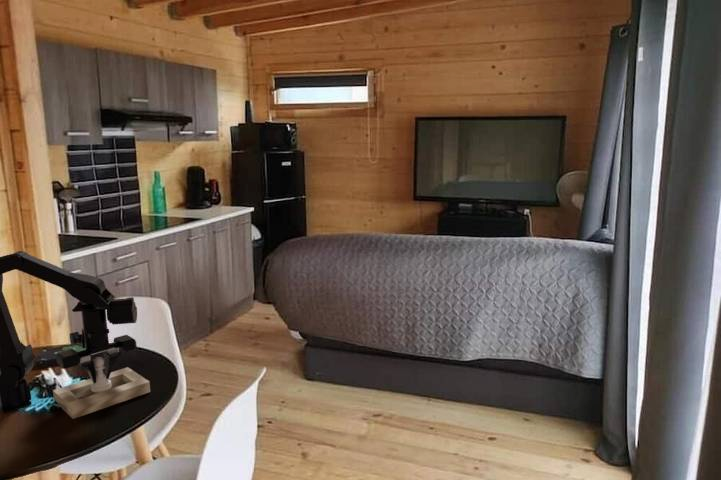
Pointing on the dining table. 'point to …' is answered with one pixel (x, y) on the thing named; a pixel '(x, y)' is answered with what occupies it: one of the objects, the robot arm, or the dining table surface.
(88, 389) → the wooden rectangular frame
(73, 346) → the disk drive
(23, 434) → the dining table surface
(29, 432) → the dining table surface
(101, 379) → the chess pawn
